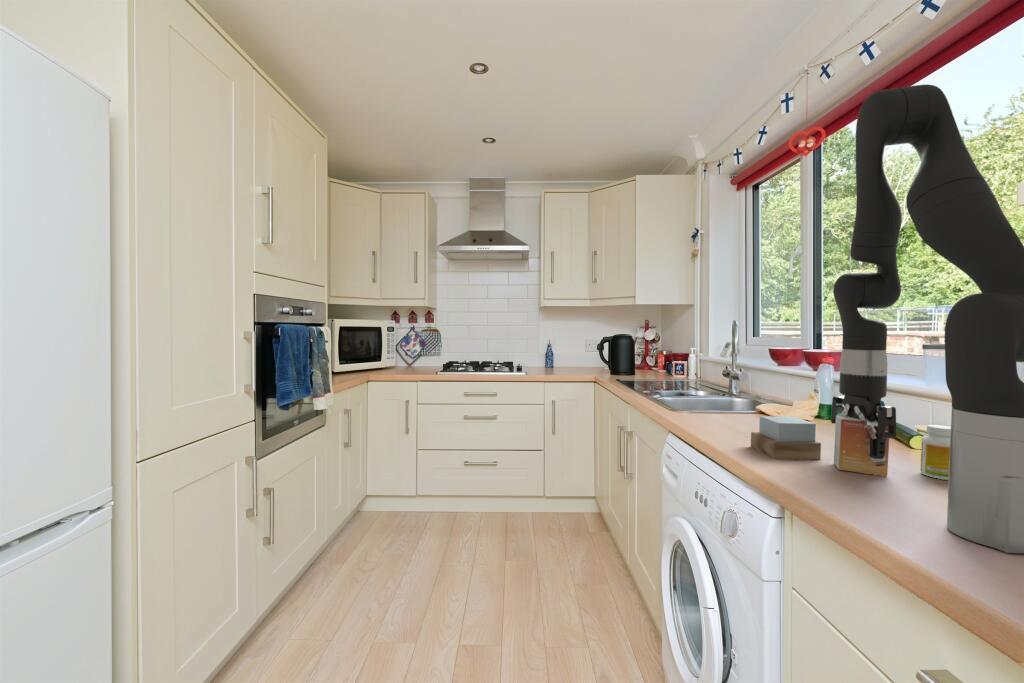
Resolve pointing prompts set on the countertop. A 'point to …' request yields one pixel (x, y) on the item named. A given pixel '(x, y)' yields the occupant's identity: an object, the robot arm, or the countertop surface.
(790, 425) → the slate top block
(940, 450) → the supplement bottle
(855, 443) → the small box
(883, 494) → the countertop surface
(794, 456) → the walnut base block
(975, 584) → the countertop surface
